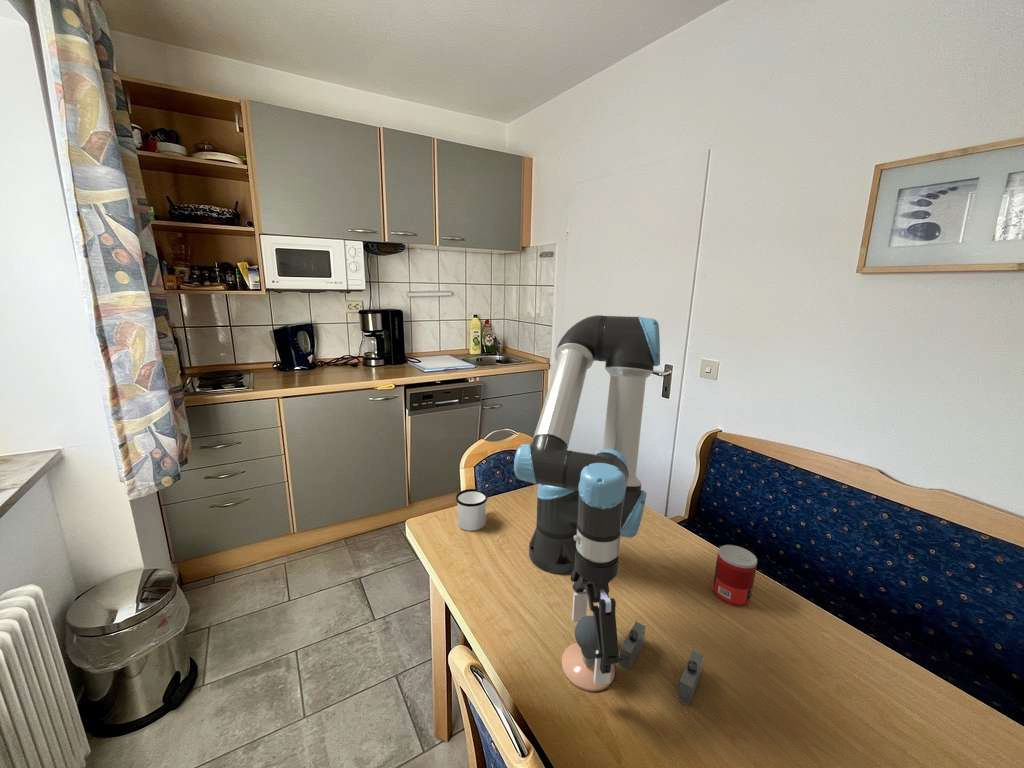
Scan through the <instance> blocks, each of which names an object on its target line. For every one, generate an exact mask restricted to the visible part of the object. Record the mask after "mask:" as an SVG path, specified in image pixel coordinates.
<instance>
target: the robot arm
mask: <svg viewBox="0 0 1024 768" xmlns="http://www.w3.org/2000/svg"><path fill="white" fill-rule="evenodd" d="M554 357H555V361H556V363H555V367H554V370H553V373H552V377H551V381H550V383H549V387H548V390H547V392H546V396H545V399H544V403H543V405H542V408H541V412H540V415H539V419H538V422H537V425H536V428H535V431H534V435H533V437H532V442H531V443H521V444H520V445H519V446H518V448H517V449H516V452H515V455H514V462H513V463H514V464H513V470H514V474H515V477H516V478H517V479H518V480H520V481H524V482H527V483H531V484H534V485H538V486H537V492H536V497H537V498H536V499H537V500H536V527H535V529H534V532H533V534H532V536H531V539H530V541H529V544H528V545H529V546H528V557H529V559H530V561H531V562H532V563H533V565H535V566H536V567H537V568H539V569H541V570H542V571H544V572H549V573H551V574H552V573H553V574H562V575H564V574H570V573H571V575H570V581H571V582H573V584H572V589H573V591H574V592H573V600H572V613H571V620H572V622H573V623H577V622H578V621H579V620H580V619H581V618H583V617H585V616H587V612H588V611H587V610H588V606H589V610H590V612H592V616H593V617H594V624H595V631H596V638H597V645H598V650H597V651H596V654H594V655H595V669H594V684H595V685H599V684H607V683H610V678H611V667H612V664H614V665H615V664H619V657H620V649H619V640H618V631H617V620H616V619H617V618H616V599H615V598H614V597H613V598H610V596H609V593H610V587H609V584H610V582H611V581H612V580H614V579H615V577H616V576H617V574H618V567H619V555H620V551H621V549H620V547H621V537H624V538H629V539H631V538H634V537H636V536H637V534H638V532H639V531H640V530H639V529H640V526H641V521H642V518H643V513H644V509H645V504H646V500H647V492H646V491H645V490H643V489H642V482H641V480H640V479H639V478H638V477H637V470H638V469H637V467H638V461H639V460H638V459H639V458H638V457H639V450H640V449H639V448H640V439H641V430H642V419H643V410H644V409H643V408H644V401H645V399H644V398H645V390H646V382H647V381H646V380H647V379H648V377H650V376H651V375H652V374H653V373H654V367H659V366H660V365H661V340H660V326H659V322H658V321H657V320H656V319H655V318H652V317H651V318H650V317H641V316H623V315H622V316H621V315H620V316H619V315H617V316H616V315H615V316H614V315H601V314H600V315H599V314H597V315H591V316H587V317H585V318H583V319H580V321H577V322H576V323H575V324H574V325H572V326H571V327H570V328H569V329H568V330H567V331H566V332H565V333H564V335H562V337H561V339H560V340H559V342H558V344H557V346H556V350H555V353H554ZM595 361H598V362H604V363H605V364H604V365H605V366H604V367H605V368H604V369H605V371H606V372H607V373H608V374H609V377H610V378H609V386H608V395H607V396H608V397H607V404H606V405H607V406H606V415H605V425H604V433H603V444H602V449H601V450H600V451H598V452H596V453H587V452H581V451H575V450H568V449H569V446H570V445H569V444H570V441H571V437H572V433H573V427H574V425H575V420H576V416H577V414H578V413H577V412H578V408H579V404H580V399H581V396H582V391H583V387H584V384H585V379H586V375H587V371H588V370H589V369H590V368H591V367H592V365H593V363H594V362H595ZM594 603H595V604H596V603H598V604H597V605H595V604H594Z"/></svg>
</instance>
